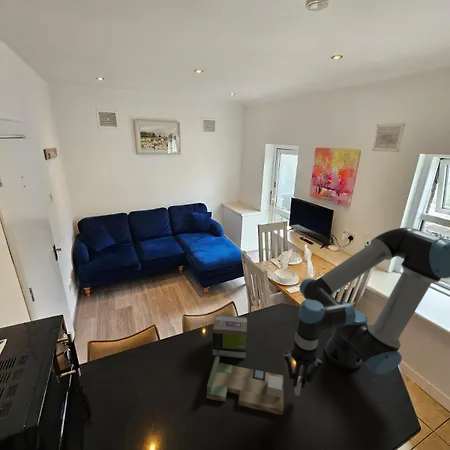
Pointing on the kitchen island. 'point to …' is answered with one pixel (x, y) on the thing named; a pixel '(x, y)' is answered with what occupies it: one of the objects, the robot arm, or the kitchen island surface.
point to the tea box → (230, 336)
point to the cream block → (274, 386)
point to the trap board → (242, 387)
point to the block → (259, 375)
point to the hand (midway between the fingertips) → (297, 392)
